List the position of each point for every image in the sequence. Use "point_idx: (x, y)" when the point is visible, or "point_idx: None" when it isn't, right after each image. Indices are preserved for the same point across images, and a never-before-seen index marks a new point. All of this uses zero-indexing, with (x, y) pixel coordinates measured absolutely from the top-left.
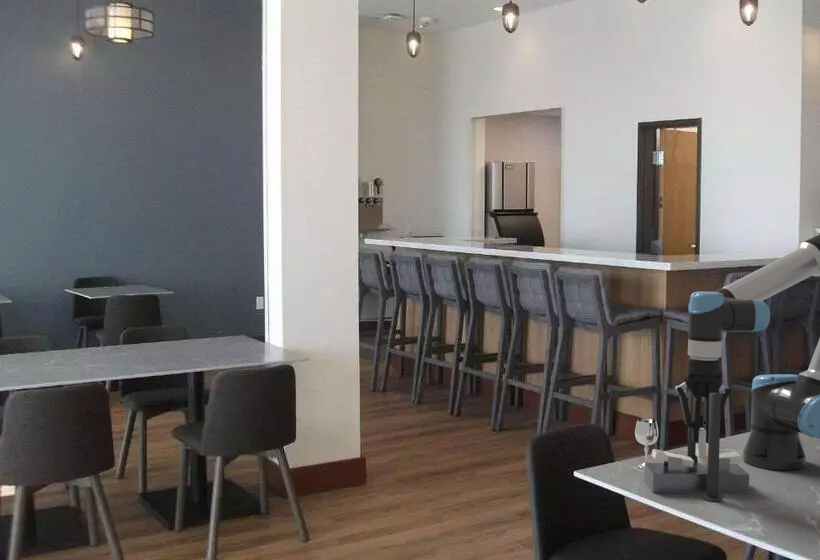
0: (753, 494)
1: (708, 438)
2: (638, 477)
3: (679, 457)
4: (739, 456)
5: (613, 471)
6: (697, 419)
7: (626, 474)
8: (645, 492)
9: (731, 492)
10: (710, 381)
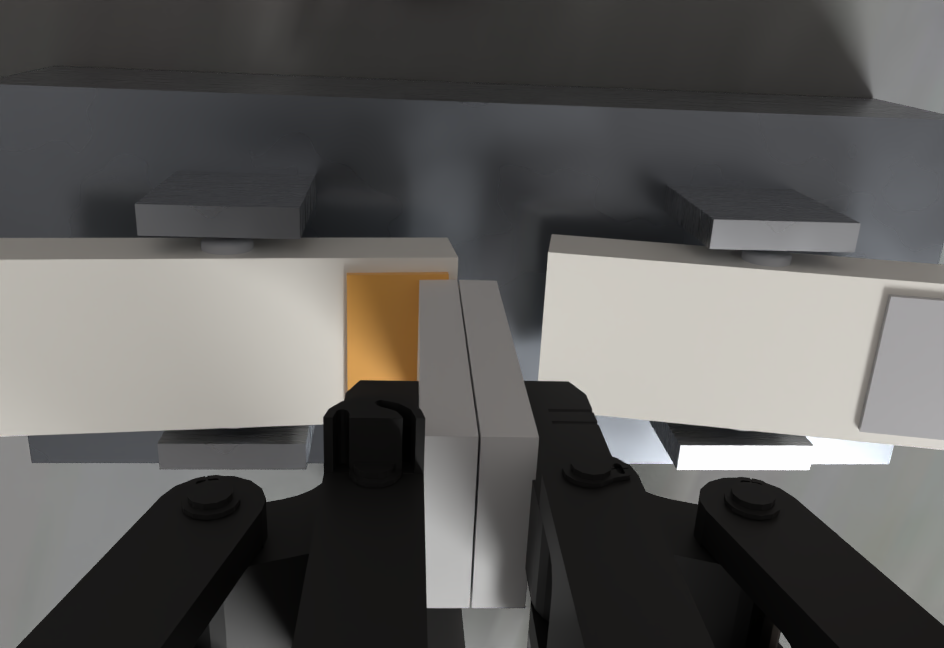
0: (14, 48)
1: None
2: (820, 475)
3: (708, 293)
4: None
5: (936, 596)
6: (624, 574)
7: (876, 537)
8: (927, 108)
9: (209, 73)
10: None
